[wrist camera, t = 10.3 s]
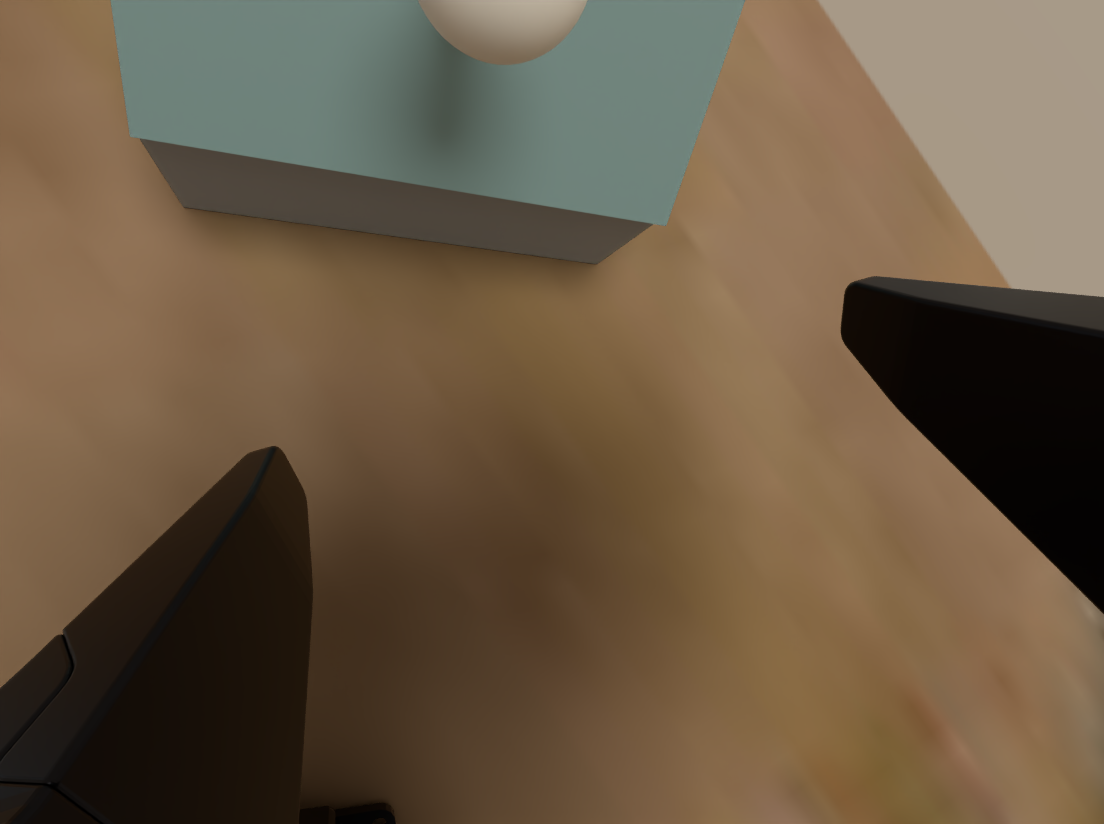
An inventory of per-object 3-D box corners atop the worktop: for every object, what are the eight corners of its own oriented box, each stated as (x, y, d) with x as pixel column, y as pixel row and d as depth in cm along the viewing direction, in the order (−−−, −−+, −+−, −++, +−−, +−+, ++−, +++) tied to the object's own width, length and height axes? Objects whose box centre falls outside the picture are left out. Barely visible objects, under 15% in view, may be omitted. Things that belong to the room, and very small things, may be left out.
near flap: (658, 218, 19) (767, 328, 14) (137, 129, 14) (12, 243, 9) (748, -45, 15) (944, -28, 10) (83, -275, 11) (-177, -456, 6)
